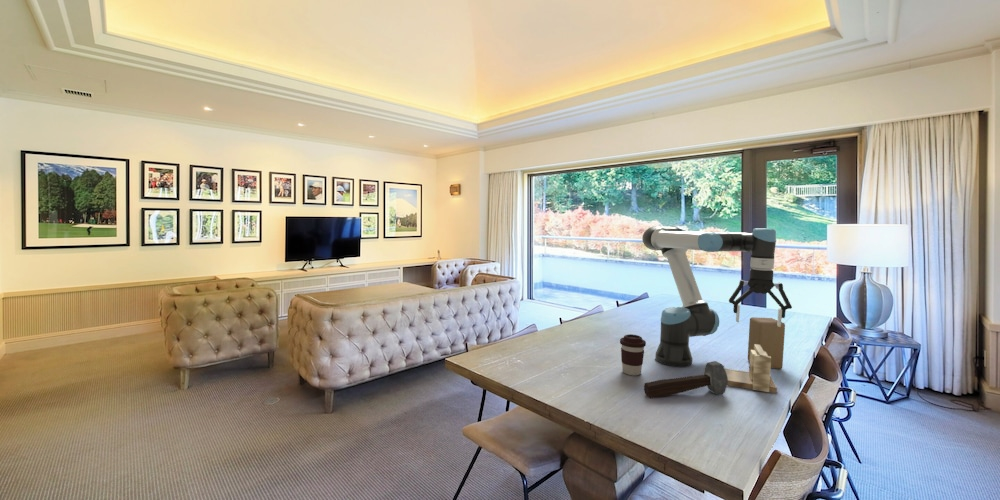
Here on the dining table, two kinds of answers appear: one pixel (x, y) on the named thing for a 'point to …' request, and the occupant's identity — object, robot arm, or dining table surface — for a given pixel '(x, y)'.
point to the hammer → (690, 382)
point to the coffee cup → (632, 354)
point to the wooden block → (767, 339)
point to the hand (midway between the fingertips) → (757, 323)
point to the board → (744, 380)
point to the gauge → (760, 368)
